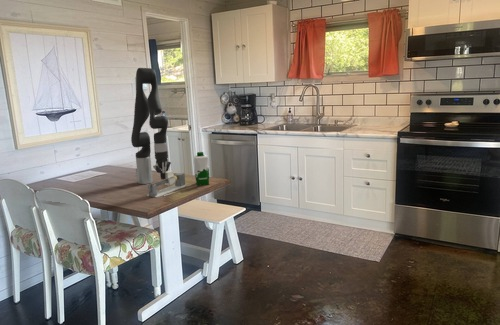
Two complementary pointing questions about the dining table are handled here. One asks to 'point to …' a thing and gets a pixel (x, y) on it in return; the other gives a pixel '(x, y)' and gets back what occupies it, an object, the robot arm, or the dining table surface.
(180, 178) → the cord rig
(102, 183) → the dining table surface
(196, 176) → the milk carton
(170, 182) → the cream stepped block
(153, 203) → the dining table surface
